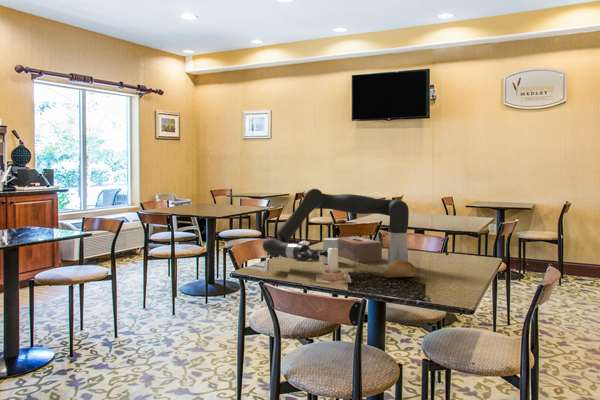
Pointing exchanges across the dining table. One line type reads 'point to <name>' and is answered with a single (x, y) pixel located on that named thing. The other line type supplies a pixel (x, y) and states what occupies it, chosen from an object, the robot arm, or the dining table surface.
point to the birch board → (320, 280)
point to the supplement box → (329, 246)
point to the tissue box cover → (359, 249)
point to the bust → (305, 244)
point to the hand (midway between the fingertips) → (325, 256)
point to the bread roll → (399, 269)
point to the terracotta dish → (333, 275)
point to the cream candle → (332, 260)
